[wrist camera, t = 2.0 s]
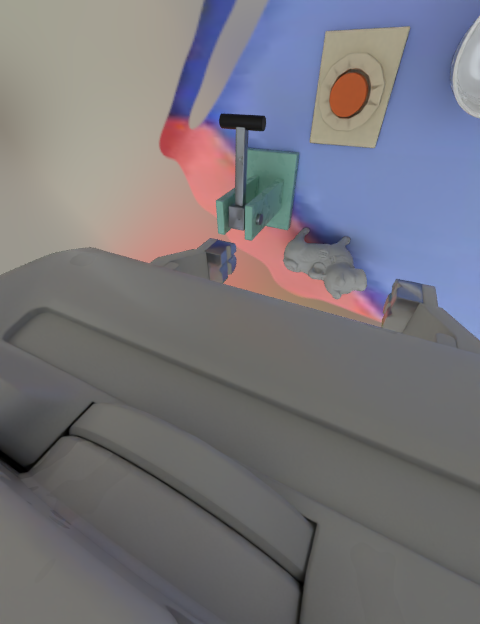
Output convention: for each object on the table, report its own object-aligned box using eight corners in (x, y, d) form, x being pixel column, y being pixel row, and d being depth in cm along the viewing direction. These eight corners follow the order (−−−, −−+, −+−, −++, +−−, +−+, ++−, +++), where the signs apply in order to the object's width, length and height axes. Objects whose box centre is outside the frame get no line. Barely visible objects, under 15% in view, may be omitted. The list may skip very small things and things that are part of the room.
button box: (328, 32, 28) (321, 29, 26) (410, 27, 26) (410, 24, 24) (312, 140, 35) (305, 145, 33) (375, 145, 33) (373, 151, 31)
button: (336, 72, 28) (333, 72, 27) (372, 72, 27) (371, 72, 26) (329, 114, 30) (326, 116, 29) (362, 115, 29) (359, 117, 28)
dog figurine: (366, 270, 43) (358, 310, 36) (291, 253, 47) (270, 286, 40) (378, 241, 40) (371, 279, 32) (295, 225, 44) (273, 256, 37)
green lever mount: (247, 147, 39) (202, 170, 31) (299, 152, 37) (265, 178, 28) (246, 219, 47) (210, 252, 38) (290, 227, 44) (261, 265, 36)
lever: (226, 113, 29) (216, 113, 28) (268, 115, 28) (260, 116, 26) (227, 220, 37) (219, 225, 35) (260, 226, 35) (253, 232, 34)
